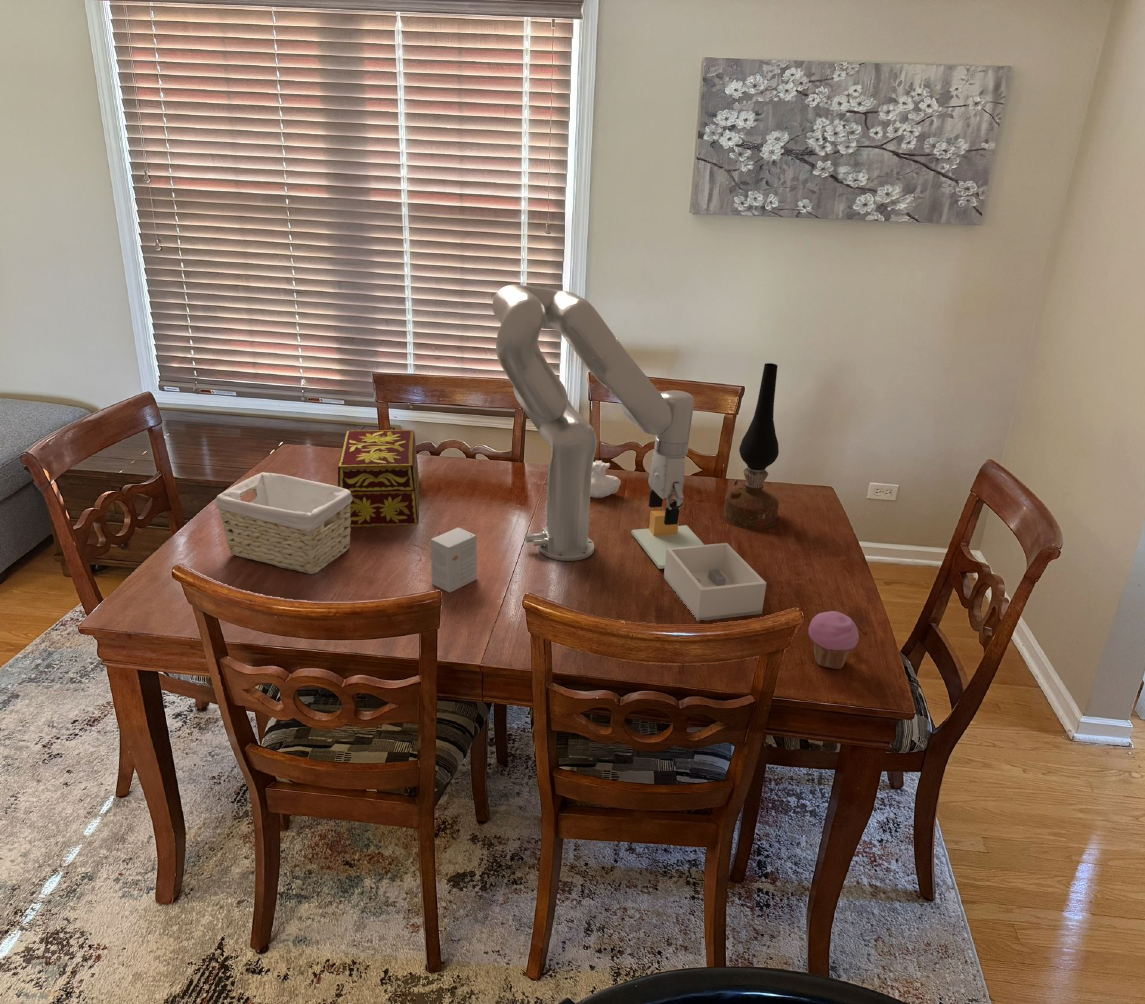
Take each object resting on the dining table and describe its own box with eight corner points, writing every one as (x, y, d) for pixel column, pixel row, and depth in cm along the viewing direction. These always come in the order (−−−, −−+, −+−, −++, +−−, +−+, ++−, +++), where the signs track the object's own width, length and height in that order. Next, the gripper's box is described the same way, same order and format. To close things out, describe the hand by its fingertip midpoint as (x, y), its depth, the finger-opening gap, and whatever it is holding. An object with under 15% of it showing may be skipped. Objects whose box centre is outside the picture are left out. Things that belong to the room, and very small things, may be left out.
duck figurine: (573, 501, 221) (572, 480, 211) (576, 476, 224) (575, 454, 214) (619, 505, 220) (620, 483, 210) (621, 480, 223) (622, 458, 213)
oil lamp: (783, 530, 213) (840, 380, 199) (753, 539, 201) (812, 379, 187) (737, 507, 220) (789, 361, 207) (707, 514, 209) (760, 360, 195)
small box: (459, 570, 179) (458, 526, 175) (477, 579, 176) (477, 534, 172) (430, 584, 173) (429, 538, 169) (449, 593, 170) (448, 547, 166)
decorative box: (418, 525, 199) (416, 466, 193) (337, 528, 196) (333, 468, 190) (419, 481, 224) (417, 427, 218) (347, 482, 221) (343, 428, 215)
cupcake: (855, 679, 149) (865, 631, 145) (805, 672, 150) (814, 625, 146) (849, 652, 157) (858, 605, 153) (801, 645, 158) (809, 599, 154)
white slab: (717, 566, 186) (720, 539, 184) (658, 571, 183) (661, 544, 180) (685, 531, 202) (688, 506, 199) (631, 536, 198) (633, 510, 196)
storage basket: (359, 548, 187) (355, 487, 181) (315, 581, 173) (309, 516, 167) (269, 528, 194) (263, 469, 188) (220, 558, 180) (211, 495, 174)
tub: (761, 613, 168) (766, 583, 165) (697, 621, 164) (701, 590, 162) (723, 571, 184) (726, 542, 181) (663, 577, 180) (666, 548, 177)
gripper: (642, 433, 195) (635, 501, 202) (670, 460, 180) (661, 532, 187) (672, 433, 197) (664, 499, 204) (702, 459, 182) (692, 530, 189)
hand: (662, 515), depth 195 cm, fingers open, 9 cm apart
